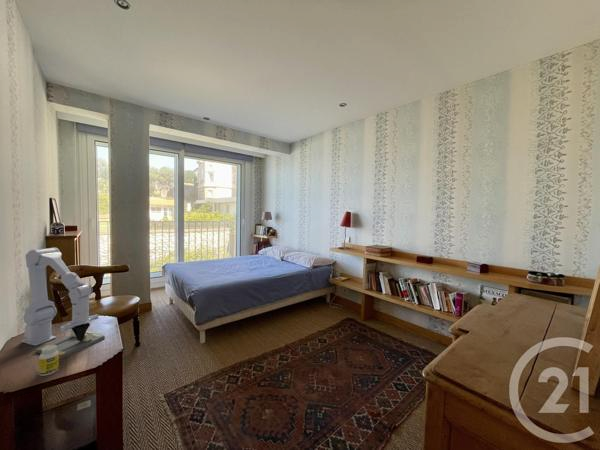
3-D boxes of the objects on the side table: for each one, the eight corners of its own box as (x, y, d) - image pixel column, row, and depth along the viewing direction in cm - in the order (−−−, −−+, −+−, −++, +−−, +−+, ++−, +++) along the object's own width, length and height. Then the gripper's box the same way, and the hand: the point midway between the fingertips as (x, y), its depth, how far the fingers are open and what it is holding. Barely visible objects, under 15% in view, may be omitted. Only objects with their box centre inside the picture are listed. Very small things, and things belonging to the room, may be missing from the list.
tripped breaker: (79, 339, 115) (80, 332, 115) (86, 336, 118) (87, 330, 118) (86, 341, 114) (86, 334, 114) (93, 338, 117) (93, 331, 117)
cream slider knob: (70, 335, 118) (70, 328, 118) (77, 332, 121) (77, 326, 121) (76, 337, 117) (76, 330, 117) (83, 334, 120) (83, 327, 120)
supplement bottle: (45, 377, 92) (46, 352, 92) (34, 374, 93) (35, 349, 93) (62, 368, 98) (62, 344, 97) (51, 366, 99) (52, 342, 98)
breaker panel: (36, 352, 107) (36, 348, 107) (81, 333, 125) (81, 330, 124) (61, 359, 103) (61, 355, 103) (104, 338, 121) (104, 335, 121)
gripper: (68, 318, 105) (68, 349, 105) (103, 306, 119) (102, 334, 119) (56, 316, 107) (56, 346, 107) (92, 304, 121) (92, 331, 121)
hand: (80, 340), depth 113 cm, fingers closed
